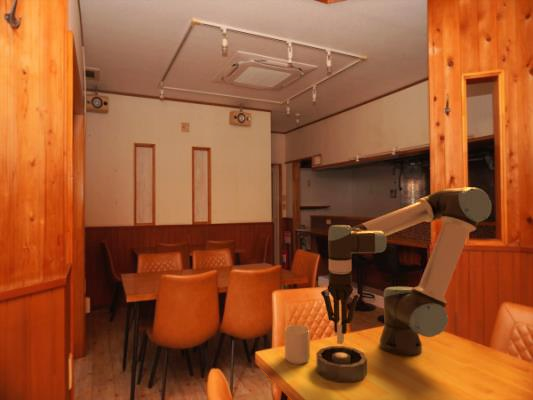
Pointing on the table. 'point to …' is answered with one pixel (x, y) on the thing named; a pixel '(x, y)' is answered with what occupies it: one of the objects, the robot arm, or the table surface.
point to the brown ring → (341, 372)
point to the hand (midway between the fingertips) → (340, 342)
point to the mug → (297, 344)
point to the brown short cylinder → (341, 358)
